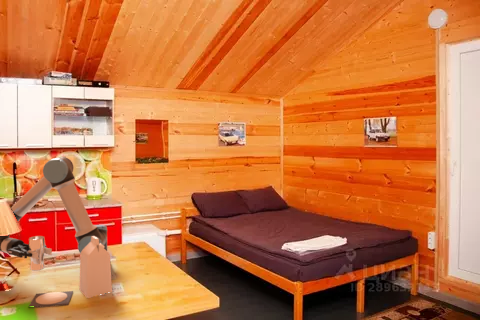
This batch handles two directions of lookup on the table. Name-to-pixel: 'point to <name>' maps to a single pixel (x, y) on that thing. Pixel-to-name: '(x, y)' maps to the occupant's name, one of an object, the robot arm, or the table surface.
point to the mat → (51, 299)
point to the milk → (95, 269)
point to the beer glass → (37, 246)
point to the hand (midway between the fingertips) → (44, 253)
